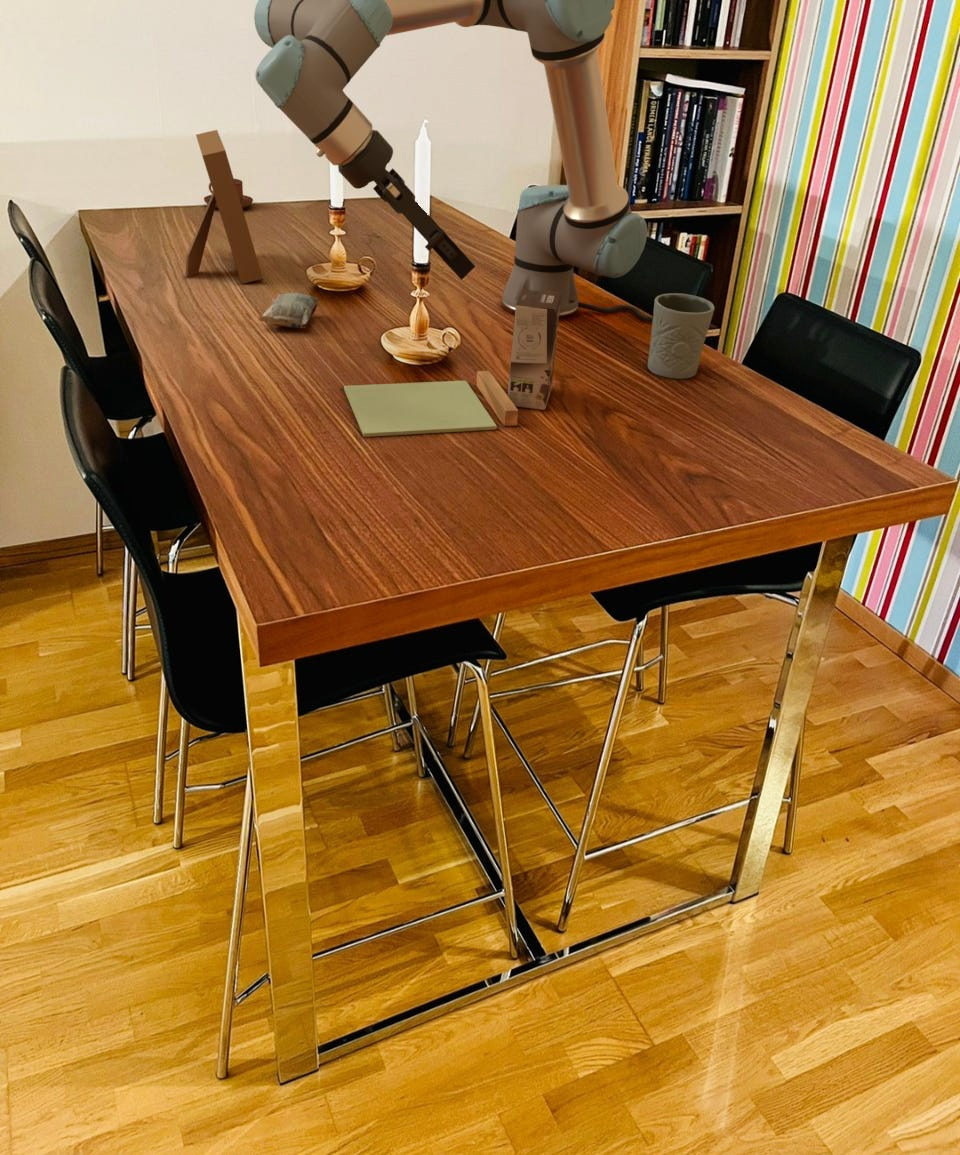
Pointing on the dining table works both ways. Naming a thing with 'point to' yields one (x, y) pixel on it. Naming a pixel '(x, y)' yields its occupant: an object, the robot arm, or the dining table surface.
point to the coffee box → (533, 348)
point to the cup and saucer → (243, 199)
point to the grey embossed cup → (678, 334)
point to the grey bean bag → (290, 310)
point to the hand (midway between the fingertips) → (456, 259)
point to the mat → (417, 408)
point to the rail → (497, 398)
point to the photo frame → (223, 213)
